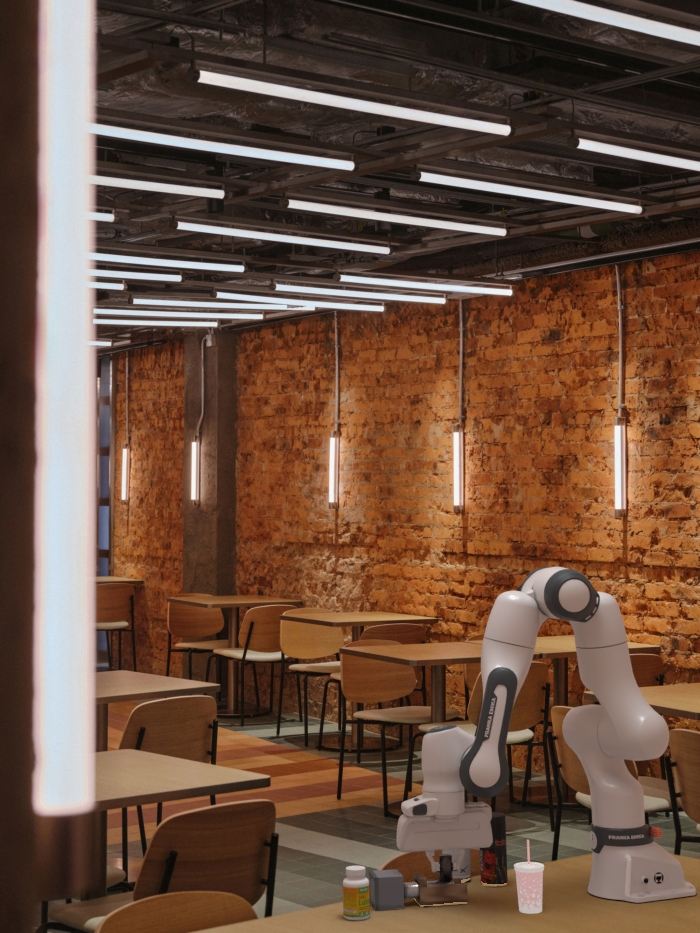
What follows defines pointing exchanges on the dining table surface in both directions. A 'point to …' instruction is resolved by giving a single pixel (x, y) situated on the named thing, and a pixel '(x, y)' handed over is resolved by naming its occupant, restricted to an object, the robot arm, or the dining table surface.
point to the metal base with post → (444, 878)
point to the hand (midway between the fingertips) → (445, 871)
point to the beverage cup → (529, 885)
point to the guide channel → (440, 891)
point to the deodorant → (495, 853)
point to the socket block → (386, 889)
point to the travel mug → (465, 862)
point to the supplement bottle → (356, 894)
